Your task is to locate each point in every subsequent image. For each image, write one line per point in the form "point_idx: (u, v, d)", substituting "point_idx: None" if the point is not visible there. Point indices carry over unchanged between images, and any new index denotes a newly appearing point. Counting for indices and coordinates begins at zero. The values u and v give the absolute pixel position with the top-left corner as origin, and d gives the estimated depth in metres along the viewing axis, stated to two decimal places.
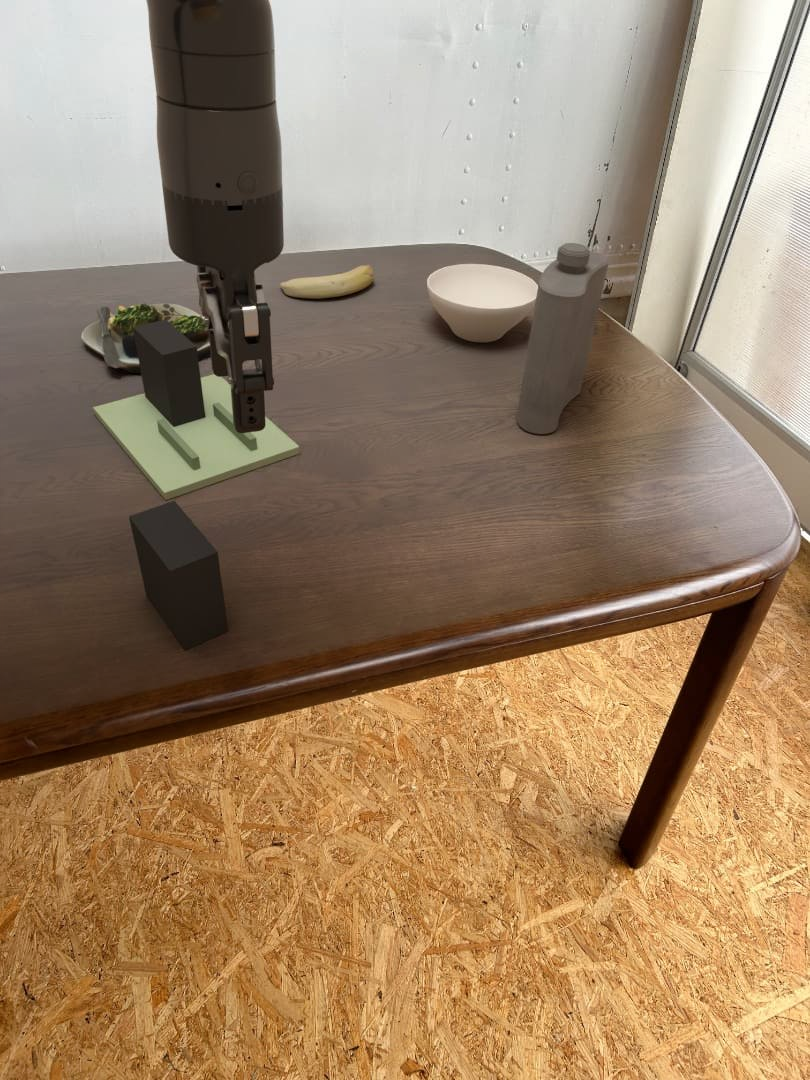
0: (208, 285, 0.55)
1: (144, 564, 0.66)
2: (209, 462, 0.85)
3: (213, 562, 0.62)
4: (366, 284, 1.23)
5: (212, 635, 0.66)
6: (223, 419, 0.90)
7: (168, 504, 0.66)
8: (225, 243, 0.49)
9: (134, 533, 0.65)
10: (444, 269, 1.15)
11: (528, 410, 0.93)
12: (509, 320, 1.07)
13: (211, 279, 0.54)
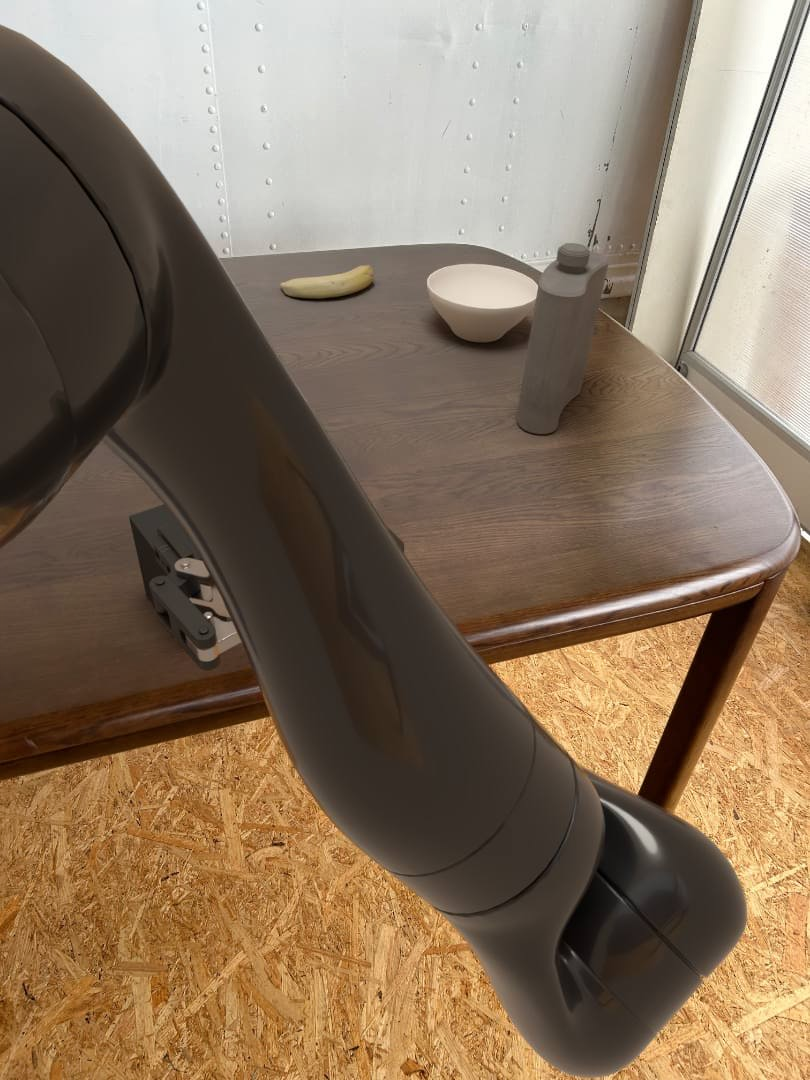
0: None
1: (144, 564, 0.66)
2: None
3: None
4: (366, 284, 1.23)
5: None
6: None
7: None
8: None
9: (134, 533, 0.65)
10: (444, 269, 1.15)
11: (528, 410, 0.93)
12: (509, 320, 1.07)
13: None
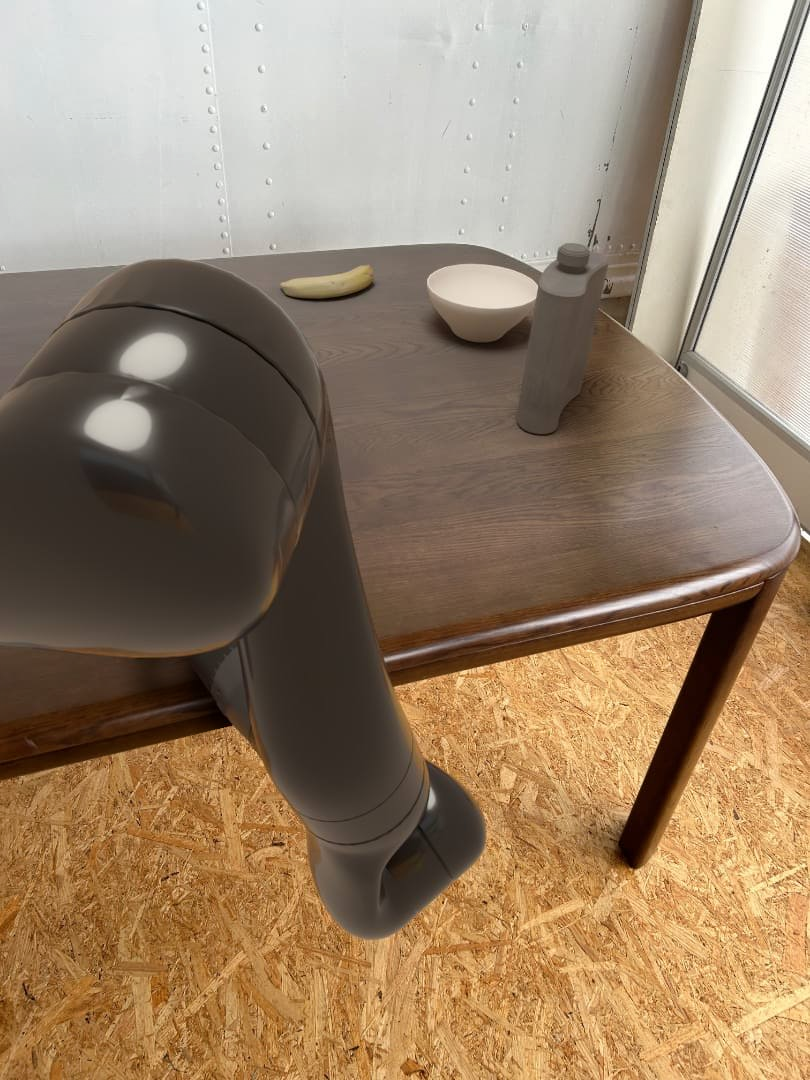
0: None
1: None
2: None
3: None
4: (366, 284, 1.23)
5: None
6: None
7: None
8: (196, 662, 0.56)
9: None
10: (444, 269, 1.15)
11: (528, 410, 0.93)
12: (509, 320, 1.07)
13: None
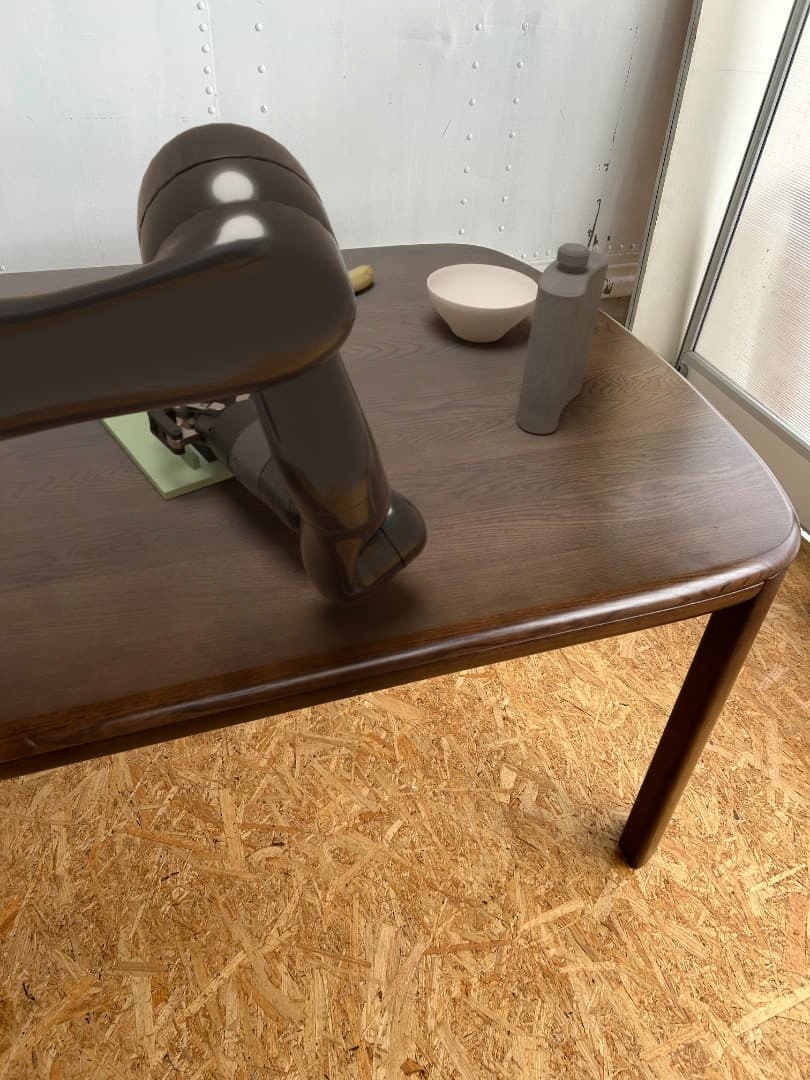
0: None
1: None
2: None
3: None
4: (366, 284, 1.23)
5: None
6: None
7: None
8: (218, 444, 0.75)
9: None
10: (444, 269, 1.15)
11: (528, 410, 0.93)
12: (509, 320, 1.07)
13: None
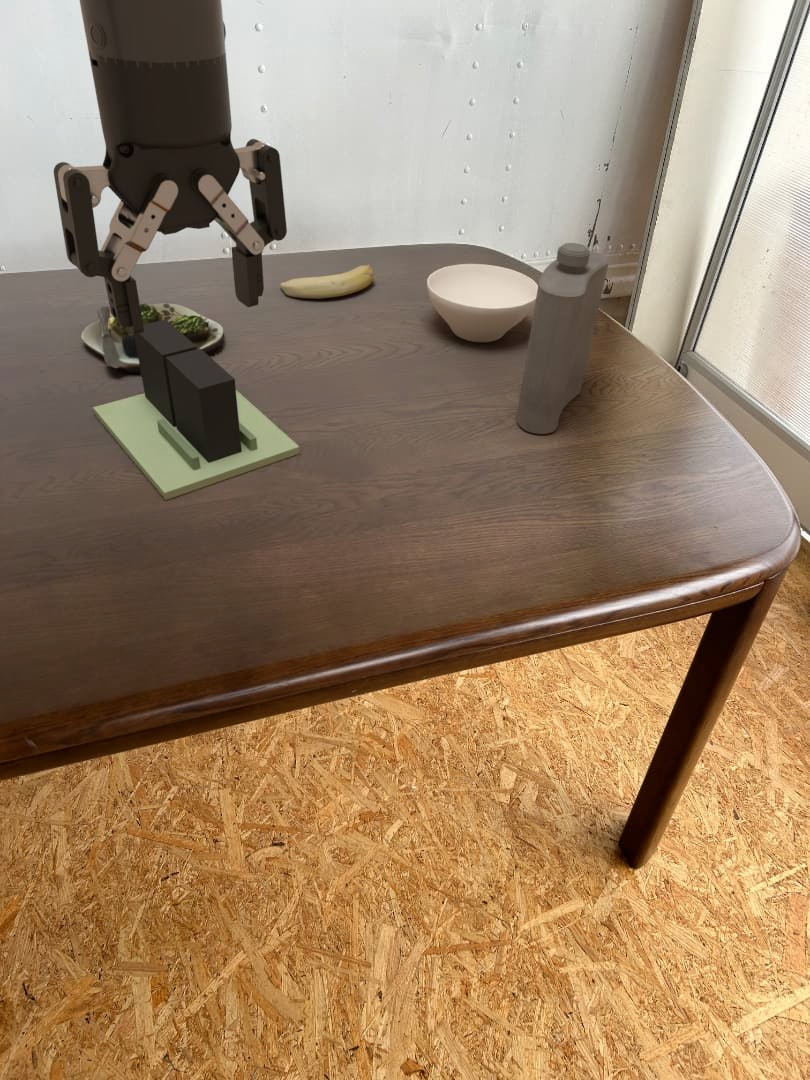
0: None
1: (177, 397, 0.85)
2: None
3: (231, 387, 0.81)
4: (366, 284, 1.23)
5: (229, 453, 0.86)
6: None
7: (195, 350, 0.85)
8: (98, 102, 0.45)
9: (169, 371, 0.84)
10: (444, 269, 1.15)
11: (528, 410, 0.93)
12: (509, 320, 1.07)
13: None
